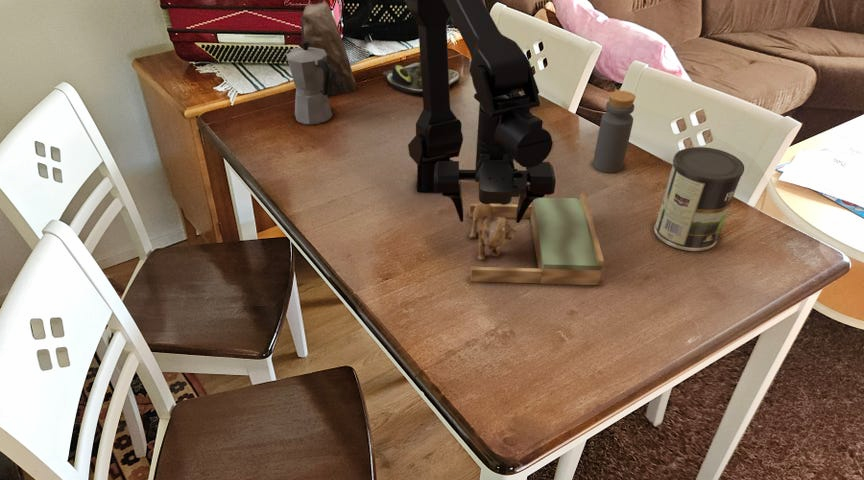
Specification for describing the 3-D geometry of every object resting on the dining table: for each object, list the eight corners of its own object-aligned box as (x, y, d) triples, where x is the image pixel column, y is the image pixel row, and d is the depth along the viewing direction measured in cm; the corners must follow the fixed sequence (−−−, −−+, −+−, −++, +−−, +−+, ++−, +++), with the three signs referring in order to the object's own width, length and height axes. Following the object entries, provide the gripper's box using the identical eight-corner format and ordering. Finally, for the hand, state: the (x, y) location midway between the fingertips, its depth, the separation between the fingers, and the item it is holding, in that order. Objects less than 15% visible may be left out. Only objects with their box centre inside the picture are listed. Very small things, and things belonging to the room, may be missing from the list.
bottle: (588, 159, 128) (601, 90, 118) (616, 157, 128) (631, 88, 119) (598, 174, 123) (612, 103, 114) (627, 171, 124) (644, 101, 114)
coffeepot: (283, 113, 151) (271, 38, 139) (315, 102, 155) (307, 29, 144) (316, 135, 141) (307, 57, 130) (350, 122, 145) (344, 46, 134)
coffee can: (721, 225, 109) (747, 154, 100) (713, 258, 102) (741, 184, 93) (659, 211, 113) (679, 141, 104) (648, 241, 106) (668, 169, 97)
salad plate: (424, 61, 173) (424, 44, 170) (474, 77, 163) (475, 59, 160) (375, 82, 163) (374, 65, 160) (425, 101, 153) (425, 83, 150)
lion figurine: (515, 267, 102) (521, 223, 96) (485, 273, 101) (488, 228, 95) (484, 219, 113) (487, 176, 107) (456, 223, 112) (458, 181, 107)
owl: (310, 100, 156) (300, 18, 143) (296, 82, 165) (286, 4, 152) (357, 90, 159) (351, 10, 147) (341, 73, 168) (334, -4, 156)
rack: (470, 281, 100) (472, 257, 97) (469, 214, 114) (470, 191, 111) (598, 285, 98) (604, 260, 95) (580, 216, 112) (585, 193, 109)
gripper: (432, 162, 88) (431, 249, 98) (566, 164, 86) (551, 252, 96) (435, 126, 97) (434, 209, 107) (557, 127, 95) (544, 211, 105)
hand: (489, 221), depth 104 cm, fingers open, 9 cm apart
